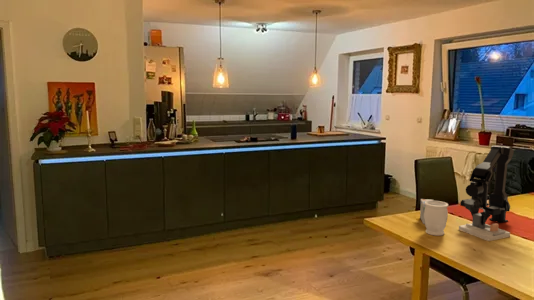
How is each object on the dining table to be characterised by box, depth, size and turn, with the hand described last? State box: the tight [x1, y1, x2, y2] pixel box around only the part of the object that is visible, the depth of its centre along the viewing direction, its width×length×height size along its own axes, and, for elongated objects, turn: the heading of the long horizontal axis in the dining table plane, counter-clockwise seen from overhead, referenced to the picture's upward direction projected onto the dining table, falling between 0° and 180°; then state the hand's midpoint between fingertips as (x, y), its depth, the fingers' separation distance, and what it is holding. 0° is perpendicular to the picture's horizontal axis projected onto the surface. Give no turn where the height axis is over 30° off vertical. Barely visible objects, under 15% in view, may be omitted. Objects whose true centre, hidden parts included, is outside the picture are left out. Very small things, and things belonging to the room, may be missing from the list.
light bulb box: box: [419, 198, 435, 225], centre depth 217 cm, size 11×7×11 cm, turn 169°
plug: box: [471, 212, 486, 229], centre depth 201 cm, size 4×4×7 cm
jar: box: [424, 200, 449, 237], centre depth 199 cm, size 11×10×15 cm
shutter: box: [483, 222, 506, 235], centre depth 194 cm, size 6×6×4 cm
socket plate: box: [458, 222, 511, 242], centre depth 199 cm, size 14×17×3 cm
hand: (478, 223), depth 202 cm, fingers closed on plug, 4 cm apart
